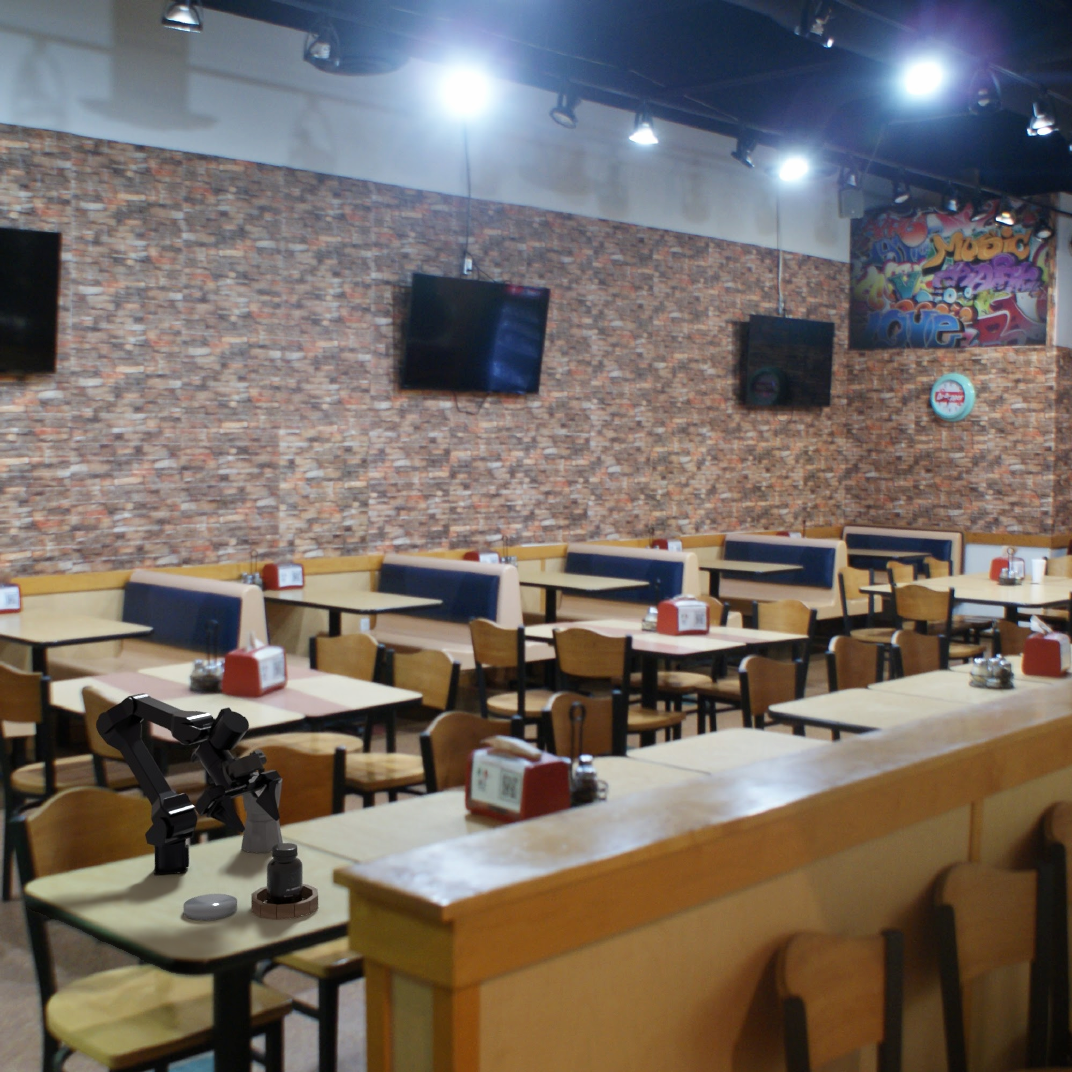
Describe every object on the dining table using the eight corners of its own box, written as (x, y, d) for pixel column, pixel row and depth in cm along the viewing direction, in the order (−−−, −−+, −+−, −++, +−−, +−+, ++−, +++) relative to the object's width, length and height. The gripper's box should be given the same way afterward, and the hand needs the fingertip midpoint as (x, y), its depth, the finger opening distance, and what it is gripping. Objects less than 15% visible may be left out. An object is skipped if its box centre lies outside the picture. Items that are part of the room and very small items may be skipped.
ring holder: (251, 921, 235) (251, 908, 234) (251, 898, 247) (251, 885, 247) (319, 916, 237) (319, 903, 237) (316, 893, 250) (316, 881, 249)
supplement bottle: (294, 914, 238) (294, 853, 237) (261, 912, 239) (260, 850, 239) (308, 902, 245) (307, 842, 244) (275, 899, 246) (274, 839, 245)
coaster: (182, 922, 234) (181, 914, 234) (184, 903, 244) (184, 895, 244) (236, 918, 236) (236, 910, 236) (237, 899, 246) (237, 892, 246)
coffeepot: (290, 852, 275) (289, 772, 274) (247, 858, 271) (246, 776, 270) (273, 833, 289) (273, 756, 287) (232, 838, 285) (231, 760, 283)
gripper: (201, 748, 242) (244, 811, 236) (273, 730, 257) (314, 789, 251) (177, 784, 247) (217, 847, 241) (248, 764, 262) (288, 823, 256)
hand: (261, 825), depth 247 cm, fingers open, 9 cm apart
